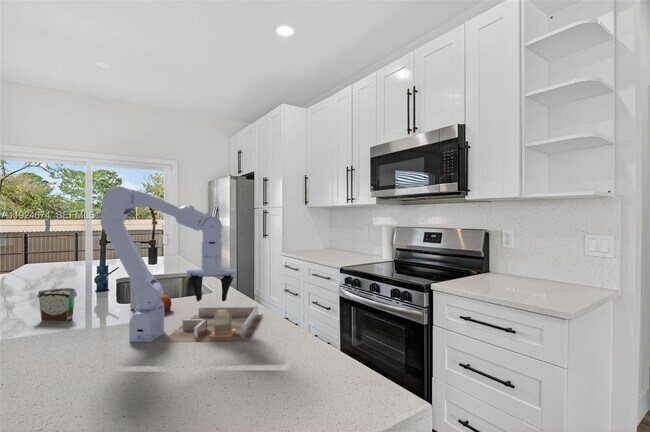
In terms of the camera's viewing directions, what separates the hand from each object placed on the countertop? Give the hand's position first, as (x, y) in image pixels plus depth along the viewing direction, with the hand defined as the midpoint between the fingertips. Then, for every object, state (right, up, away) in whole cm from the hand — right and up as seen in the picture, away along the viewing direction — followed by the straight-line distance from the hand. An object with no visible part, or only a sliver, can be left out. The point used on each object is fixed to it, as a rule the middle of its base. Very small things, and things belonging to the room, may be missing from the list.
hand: (211, 300), depth 101 cm
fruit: (-24, -10, +16) cm, 31 cm away
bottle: (-36, -10, +24) cm, 45 cm away
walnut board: (+2, -9, +1) cm, 10 cm away
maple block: (+5, -8, -5) cm, 11 cm away
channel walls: (+2, -8, +1) cm, 9 cm away
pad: (+5, -8, -5) cm, 11 cm away
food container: (-55, -10, +12) cm, 57 cm away
